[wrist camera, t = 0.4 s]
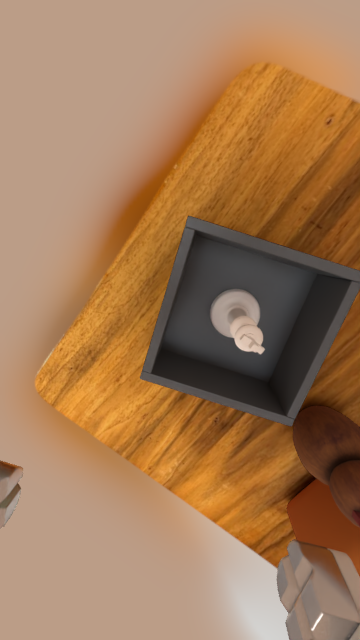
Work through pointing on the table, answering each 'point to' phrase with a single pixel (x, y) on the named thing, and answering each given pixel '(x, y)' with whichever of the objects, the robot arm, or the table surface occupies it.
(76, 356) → the table surface
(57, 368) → the table surface
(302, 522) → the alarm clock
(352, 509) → the wooden figurine
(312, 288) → the tub
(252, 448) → the table surface
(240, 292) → the chess piece
